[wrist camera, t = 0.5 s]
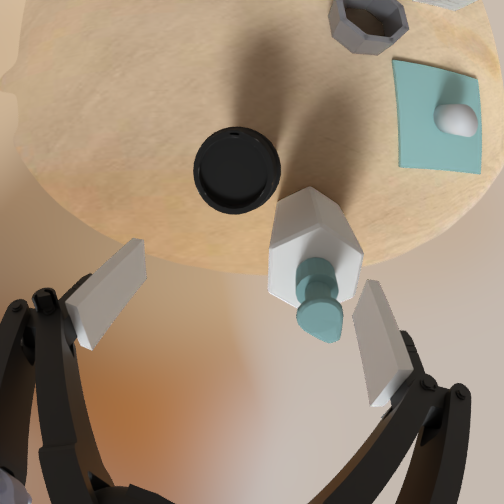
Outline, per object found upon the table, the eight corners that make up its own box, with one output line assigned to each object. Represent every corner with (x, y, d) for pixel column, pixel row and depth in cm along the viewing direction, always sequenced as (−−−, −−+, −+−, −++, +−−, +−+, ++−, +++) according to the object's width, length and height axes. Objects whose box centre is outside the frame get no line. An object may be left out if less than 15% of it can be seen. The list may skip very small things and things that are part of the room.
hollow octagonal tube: (325, 2, 24) (331, -19, 18) (383, 8, 23) (398, -9, 17) (334, 52, 28) (343, 38, 22) (393, 57, 27) (412, 47, 20)
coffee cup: (286, 129, 34) (285, 131, 21) (280, 187, 38) (274, 225, 25) (225, 123, 35) (187, 125, 22) (222, 181, 39) (185, 214, 25)
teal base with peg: (391, 60, 27) (410, 51, 21) (475, 79, 24) (499, 77, 18) (398, 166, 34) (417, 175, 28) (477, 173, 31) (501, 183, 25)
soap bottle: (290, 258, 43) (285, 370, 23) (261, 208, 40) (232, 298, 20) (350, 231, 40) (394, 332, 20) (325, 177, 36) (364, 243, 17)
